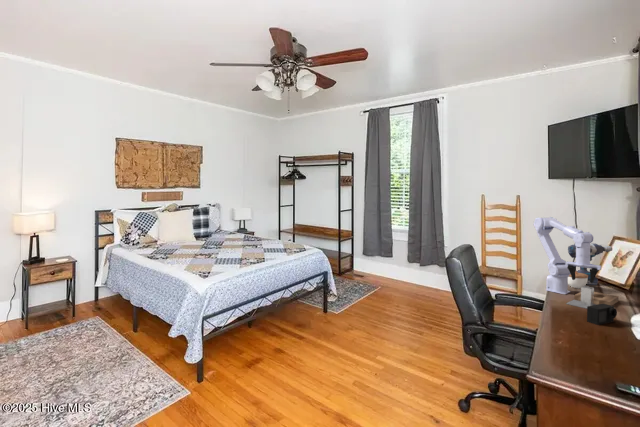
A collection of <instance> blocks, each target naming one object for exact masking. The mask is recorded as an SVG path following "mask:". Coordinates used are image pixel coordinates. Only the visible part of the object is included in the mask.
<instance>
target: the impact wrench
mask: <svg viewBox="0 0 640 427" xmlns="http://www.w3.org/2000/svg"><path fill="white" fill-rule="evenodd" d="M612 251H613V247H612V246H611V245H607V246H606V245H605V246H602V244H598V243H594V242H591V243H590V262H591V261H593V258H594V257H596V256H598V255H601V254H603V252H606V253H609V252H612ZM567 252H568V254H569V255H568V256H570V257H571V258H572V259H576V245H575V244H570V245H568V247H567ZM585 267H587V266H585ZM576 271H577V273H583V274H586V275H588V281H587V285H586V286H597V285H598V283H599V279H598V277H597V276H595V278H594V282H593V283H590V270H588V268H584V267H579V269H578V270H576Z"/></svg>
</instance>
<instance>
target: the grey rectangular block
mask: <svg viewBox="0 0 640 427" xmlns="http://www.w3.org/2000/svg"><path fill="white" fill-rule="evenodd" d="M580 292H581V305H583V306H592V305H594V292H595V287H593V286H589V285H585V286H583V287H581V288H580Z"/></svg>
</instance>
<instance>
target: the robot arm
mask: <svg viewBox="0 0 640 427" xmlns="http://www.w3.org/2000/svg"><path fill="white" fill-rule="evenodd" d="M533 226H534V228H535V231H536V234H537V237H538V239H539V241H540V244H541V245H542V247H543V250H544V251H545V254H546V256H547V258H548V259H549V262H548V263H547V266H546V267H547V268H548V273H549V274H548V275H547V277H546V286H545V291H548V292H552V293H557V294H561V295H567V294H569V293H571V290H568V289H569V288H568V287H569V285H568V277H569V275H570V274H571V276H572V280H575V271H577V268H580V267H584V268H587V269H589V271H590V283H593V282H594V278H595V277H597V274H598V273H599V271H600V270H602V265H599V264H593V263H591V261H590V244H592V243H593V241H594V235H593V234H592V233H591V232H590V231H586V232H584V231H583V230H582V229H578V228H577V227H576V226H575V225H568V226H567V225H566V224H564V223H562V222H561V221H559V220H558V219H557V218H556V217H552V216H549V217H544V216H543V217H539V216H538V217H536V218H534V221H533ZM554 229H557V230H559V231H561V232H563V235H564V236H566V237H568V238H570V239H572V240H573V242H574V245H576V258H575V261H566V260H565V259H562V258H561V255H560V254H559V251H558V249H557V248H556V246H555V244H554V242H553V239H552V238H551V236H550V233H551V232H552V231H553V230H554ZM585 266H587V267H585Z"/></svg>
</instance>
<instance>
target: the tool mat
mask: <svg viewBox="0 0 640 427" xmlns="http://www.w3.org/2000/svg"><path fill="white" fill-rule="evenodd" d="M565 304H566V305H569V306H573V307H578V308H582V309H587V306H583V305H581V301H580V300H575V299H572V300H569V301H568V302H567V303H565ZM594 305H597V304H594Z"/></svg>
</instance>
